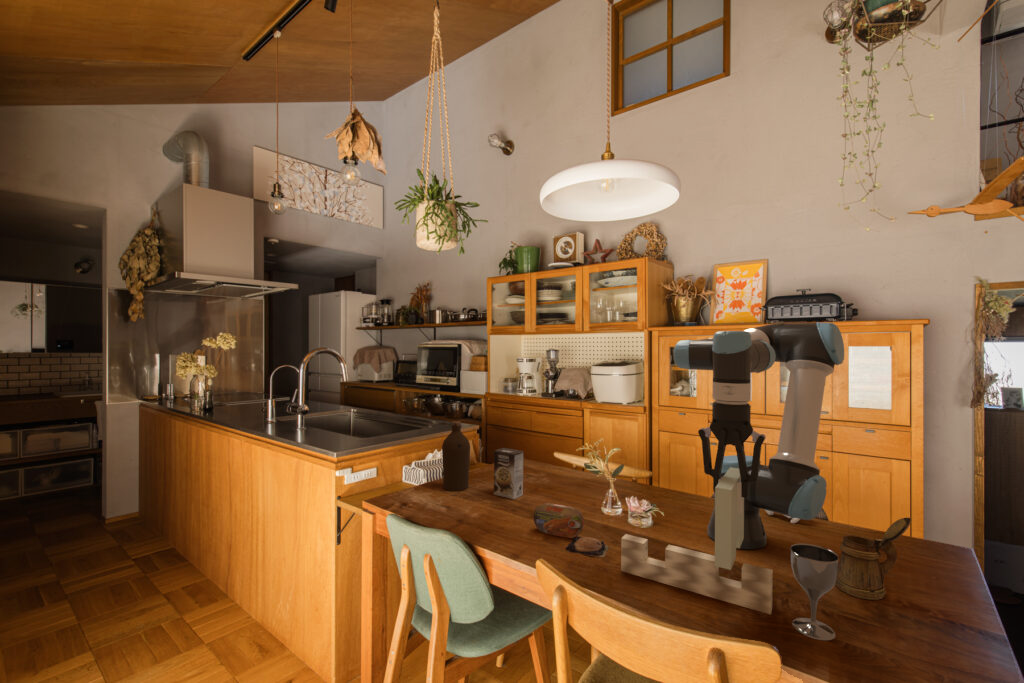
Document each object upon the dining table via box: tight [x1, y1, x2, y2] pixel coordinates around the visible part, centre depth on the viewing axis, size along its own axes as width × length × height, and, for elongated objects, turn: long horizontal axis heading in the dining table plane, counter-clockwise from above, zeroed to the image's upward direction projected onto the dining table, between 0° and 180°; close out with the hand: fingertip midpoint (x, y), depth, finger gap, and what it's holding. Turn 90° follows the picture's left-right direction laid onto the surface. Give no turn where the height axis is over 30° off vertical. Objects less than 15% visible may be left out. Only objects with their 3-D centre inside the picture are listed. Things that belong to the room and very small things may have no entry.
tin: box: [533, 502, 585, 539], centre depth 135 cm, size 15×3×8 cm, turn 62°
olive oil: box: [441, 420, 471, 492], centre depth 177 cm, size 11×11×25 cm
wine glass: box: [789, 542, 840, 641], centre depth 91 cm, size 8×8×15 cm
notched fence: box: [620, 533, 774, 615], centre depth 106 cm, size 32×3×8 cm, turn 56°
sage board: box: [714, 467, 744, 571], centre depth 101 cm, size 18×3×16 cm, turn 146°
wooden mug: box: [834, 517, 912, 601], centre depth 105 cm, size 9×14×18 cm, turn 61°
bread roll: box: [565, 535, 609, 559], centre depth 126 cm, size 11×8×4 cm
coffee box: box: [493, 447, 524, 500], centre depth 169 cm, size 9×6×16 cm
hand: (730, 509), depth 101 cm, fingers closed on sage board, 3 cm apart
